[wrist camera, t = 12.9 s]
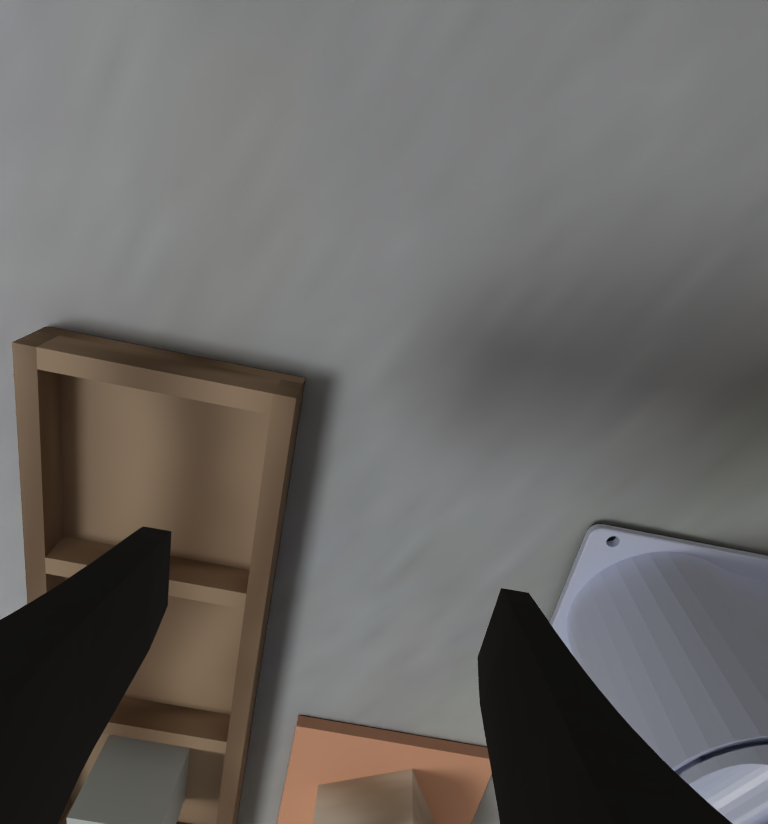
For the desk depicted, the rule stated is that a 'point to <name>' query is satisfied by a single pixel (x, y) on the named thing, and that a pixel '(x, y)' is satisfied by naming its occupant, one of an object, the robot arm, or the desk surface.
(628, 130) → the desk surface
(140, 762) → the blank block
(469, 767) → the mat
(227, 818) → the organizer
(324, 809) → the letter cube
